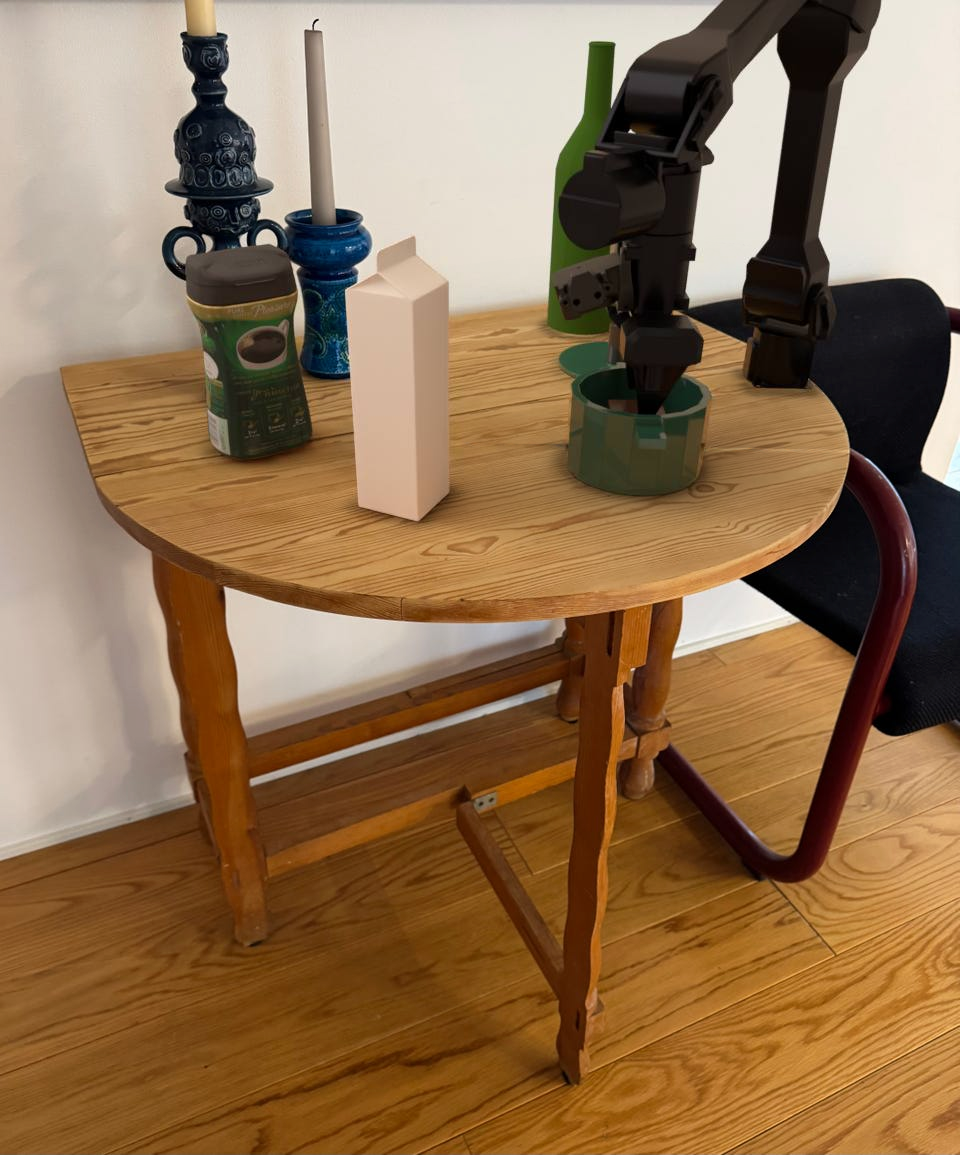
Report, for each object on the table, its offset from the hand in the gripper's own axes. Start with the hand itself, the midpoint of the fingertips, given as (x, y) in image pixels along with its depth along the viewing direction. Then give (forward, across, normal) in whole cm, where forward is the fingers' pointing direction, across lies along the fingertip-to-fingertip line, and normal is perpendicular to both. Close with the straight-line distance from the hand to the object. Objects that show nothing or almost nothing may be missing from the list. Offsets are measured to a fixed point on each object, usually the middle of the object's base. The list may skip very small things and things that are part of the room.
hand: (638, 404), depth 87 cm
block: (+6, 0, 0) cm, 6 cm away
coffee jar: (+6, -3, -36) cm, 37 cm away
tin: (+6, 0, 0) cm, 6 cm away
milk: (+6, +8, -21) cm, 23 cm away
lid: (+6, -25, +1) cm, 26 cm away
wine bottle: (+6, -40, -2) cm, 41 cm away
